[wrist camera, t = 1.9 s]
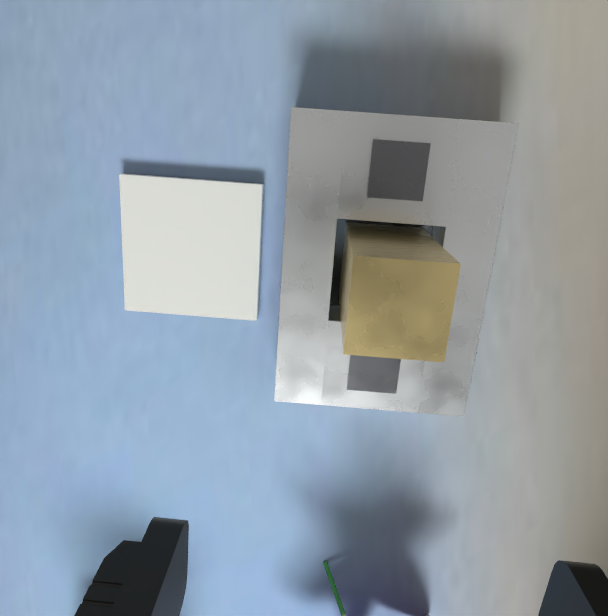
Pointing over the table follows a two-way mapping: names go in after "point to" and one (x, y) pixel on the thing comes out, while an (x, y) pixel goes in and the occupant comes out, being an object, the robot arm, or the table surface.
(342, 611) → the lily
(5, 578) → the table surface
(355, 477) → the table surface
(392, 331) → the brass peg
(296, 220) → the socket block
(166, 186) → the pad
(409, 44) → the table surface
